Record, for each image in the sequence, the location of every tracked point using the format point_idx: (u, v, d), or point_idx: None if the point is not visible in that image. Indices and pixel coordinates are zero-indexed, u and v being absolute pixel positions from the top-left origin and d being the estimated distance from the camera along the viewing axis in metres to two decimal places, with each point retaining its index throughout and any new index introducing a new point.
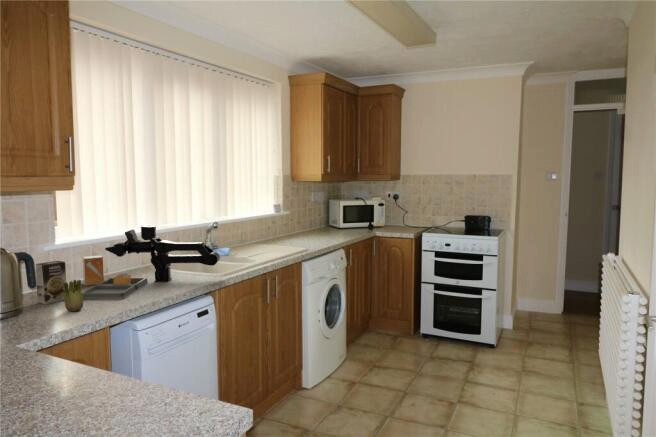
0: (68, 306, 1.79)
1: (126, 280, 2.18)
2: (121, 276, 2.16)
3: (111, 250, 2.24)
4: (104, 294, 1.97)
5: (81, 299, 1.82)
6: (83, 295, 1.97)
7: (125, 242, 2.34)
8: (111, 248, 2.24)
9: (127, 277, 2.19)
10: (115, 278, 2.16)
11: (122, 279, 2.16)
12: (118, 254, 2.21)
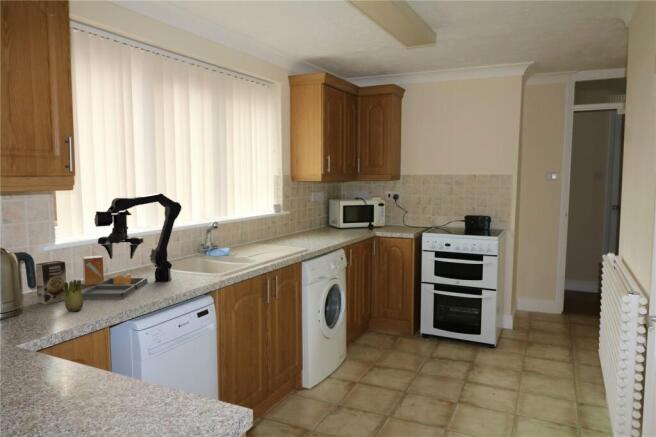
0: (68, 306, 1.79)
1: (126, 280, 2.18)
2: (121, 276, 2.16)
3: (134, 251, 2.19)
4: (104, 294, 1.97)
5: (81, 299, 1.82)
6: (83, 295, 1.97)
7: (108, 247, 2.16)
8: (133, 251, 2.18)
9: (127, 277, 2.19)
10: (115, 278, 2.16)
11: (122, 279, 2.16)
12: (142, 241, 2.20)
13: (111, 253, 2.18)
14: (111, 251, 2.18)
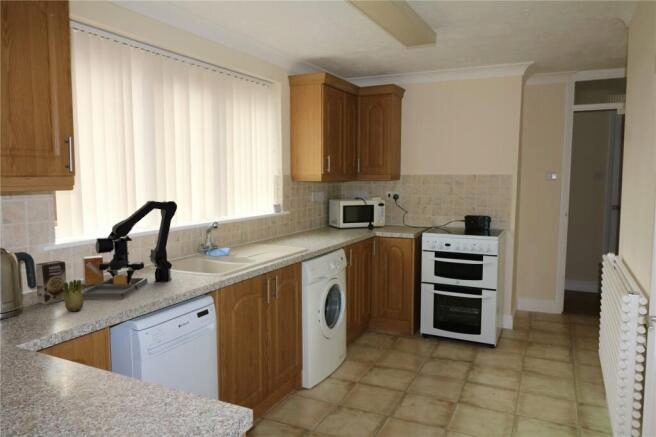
0: (68, 306, 1.79)
1: (126, 280, 2.18)
2: (121, 276, 2.16)
3: (131, 277, 2.20)
4: (104, 294, 1.97)
5: (81, 299, 1.82)
6: (83, 295, 1.97)
7: (113, 272, 2.17)
8: (130, 277, 2.19)
9: None
10: (115, 278, 2.15)
11: (122, 279, 2.16)
12: (143, 266, 2.21)
13: None
14: None
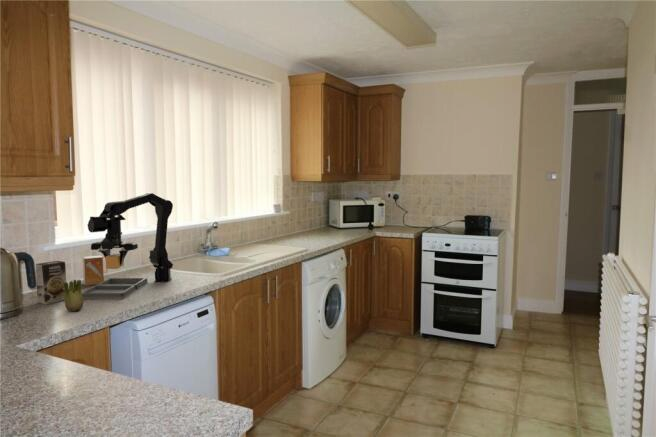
0: (68, 306, 1.79)
1: (118, 260, 2.10)
2: (113, 256, 2.09)
3: (123, 257, 2.12)
4: (104, 294, 1.97)
5: (81, 299, 1.82)
6: (83, 295, 1.97)
7: (106, 252, 2.10)
8: (123, 258, 2.11)
9: None
10: (107, 258, 2.08)
11: (114, 259, 2.08)
12: (137, 247, 2.13)
13: None
14: None
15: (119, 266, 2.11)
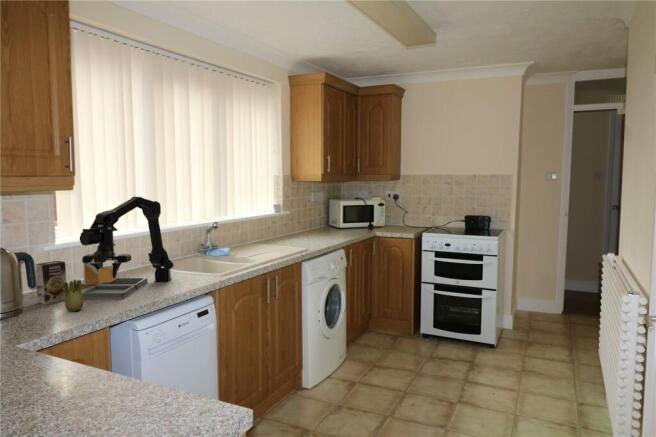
0: (68, 306, 1.79)
1: (112, 273, 2.02)
2: (106, 269, 2.01)
3: (117, 270, 2.04)
4: (104, 294, 1.97)
5: (81, 299, 1.82)
6: (83, 295, 1.97)
7: (98, 265, 2.02)
8: (116, 270, 2.03)
9: None
10: (100, 271, 2.00)
11: (107, 272, 2.00)
12: (130, 258, 2.05)
13: None
14: None
15: (112, 279, 2.03)
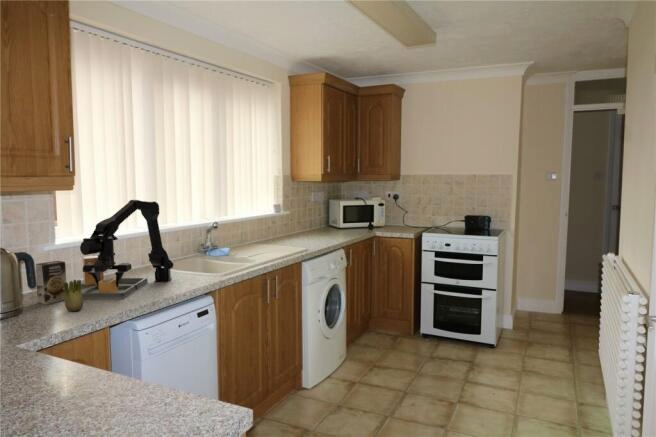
0: (68, 306, 1.79)
1: (112, 285, 2.03)
2: (106, 281, 2.01)
3: (120, 279, 2.05)
4: (104, 294, 1.97)
5: (81, 299, 1.82)
6: (83, 295, 1.97)
7: (96, 274, 2.02)
8: (119, 279, 2.04)
9: (113, 282, 2.04)
10: (100, 283, 2.01)
11: (108, 284, 2.01)
12: (131, 267, 2.06)
13: (99, 281, 2.04)
14: (99, 279, 2.04)
15: (113, 291, 2.03)
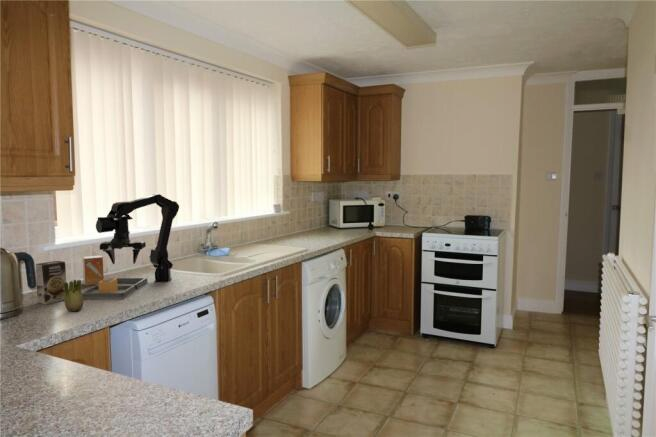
0: (68, 306, 1.79)
1: (112, 285, 2.03)
2: (106, 281, 2.01)
3: (136, 256, 2.16)
4: (104, 294, 1.97)
5: (81, 299, 1.82)
6: (83, 295, 1.97)
7: (110, 252, 2.13)
8: (136, 256, 2.15)
9: (113, 282, 2.04)
10: (100, 283, 2.01)
11: (108, 284, 2.01)
12: (145, 245, 2.17)
13: (113, 258, 2.16)
14: (113, 256, 2.16)
15: (113, 291, 2.03)
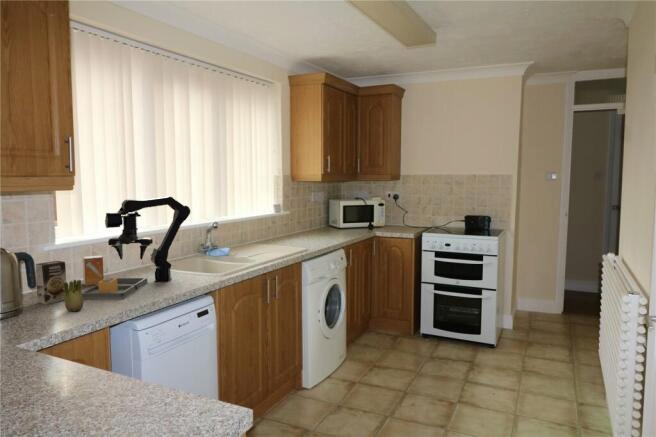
0: (68, 306, 1.79)
1: (112, 285, 2.03)
2: (106, 281, 2.01)
3: (143, 252, 2.23)
4: (104, 294, 1.97)
5: (81, 299, 1.82)
6: (83, 295, 1.97)
7: (118, 247, 2.20)
8: (143, 252, 2.22)
9: (113, 282, 2.04)
10: (100, 283, 2.01)
11: (108, 284, 2.01)
12: (152, 242, 2.24)
13: (121, 254, 2.22)
14: (121, 252, 2.22)
15: (113, 291, 2.03)
